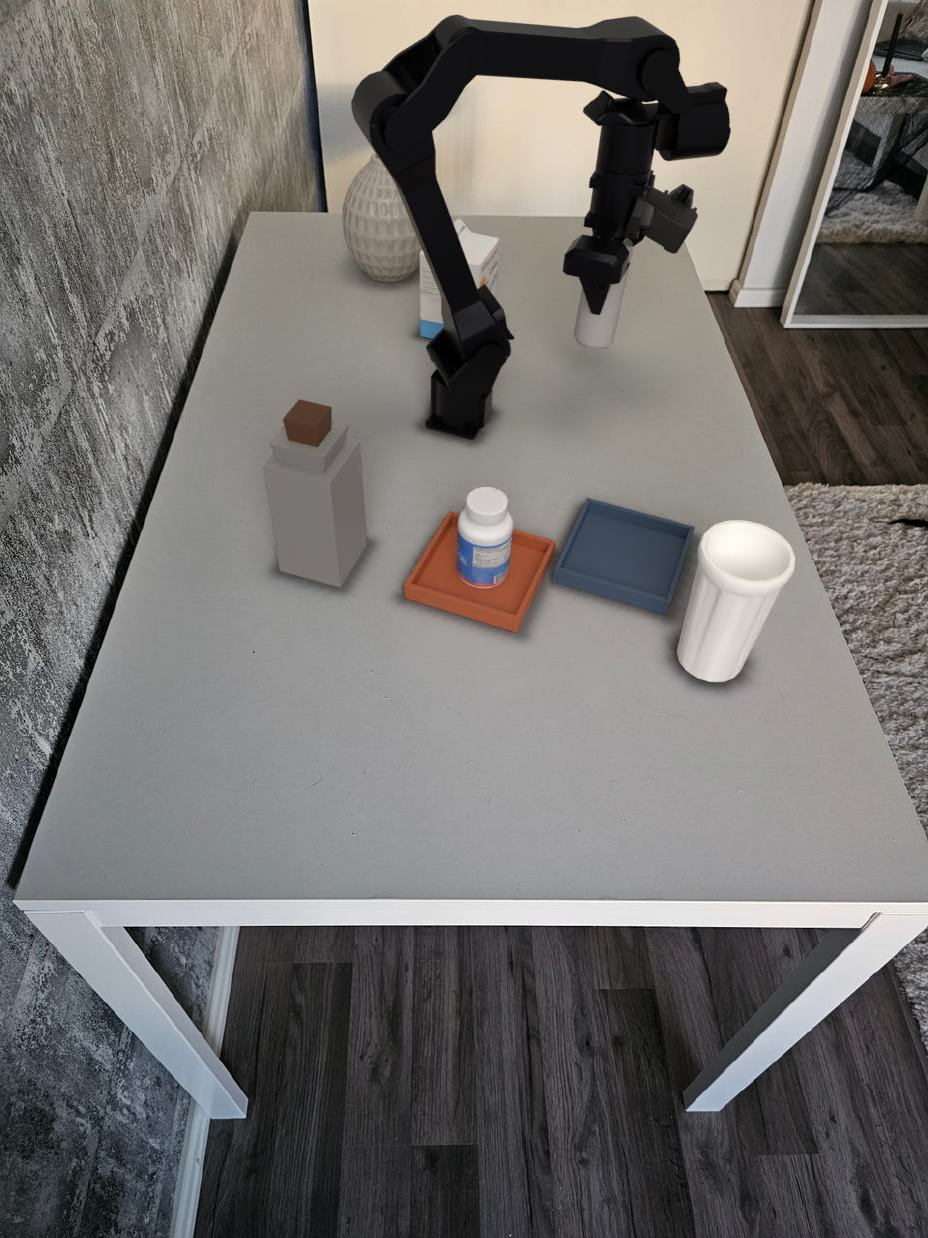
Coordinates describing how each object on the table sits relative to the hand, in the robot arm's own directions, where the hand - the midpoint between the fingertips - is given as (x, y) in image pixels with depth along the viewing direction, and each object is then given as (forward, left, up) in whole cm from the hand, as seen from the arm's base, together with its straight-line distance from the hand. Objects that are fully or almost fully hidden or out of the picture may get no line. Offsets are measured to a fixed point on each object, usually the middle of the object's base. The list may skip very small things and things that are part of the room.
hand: (601, 303), depth 106 cm
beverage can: (0, -1, -5) cm, 5 cm away
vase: (-36, +19, -13) cm, 43 cm away
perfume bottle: (-17, -39, -13) cm, 45 cm away
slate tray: (+12, -27, -13) cm, 32 cm away
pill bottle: (-1, -35, -13) cm, 37 cm away
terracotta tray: (-1, -35, -13) cm, 38 cm away
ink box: (-21, +9, -13) cm, 26 cm away
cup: (+23, -37, -13) cm, 46 cm away
